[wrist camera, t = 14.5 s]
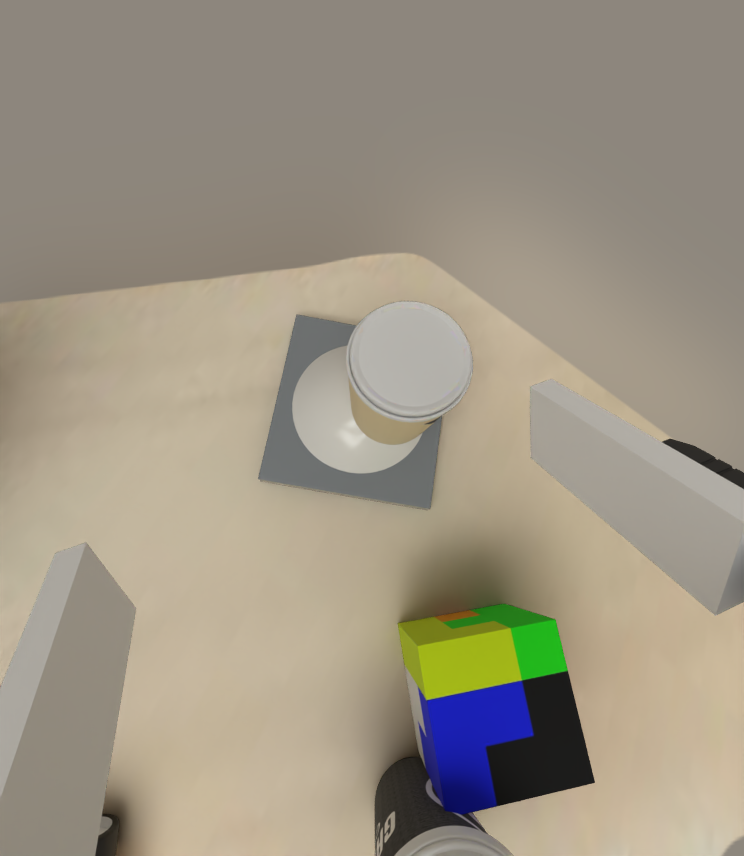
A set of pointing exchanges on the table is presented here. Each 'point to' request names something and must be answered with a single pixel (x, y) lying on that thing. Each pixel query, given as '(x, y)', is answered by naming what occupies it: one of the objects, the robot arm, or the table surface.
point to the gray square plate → (338, 429)
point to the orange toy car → (107, 836)
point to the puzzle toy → (493, 707)
